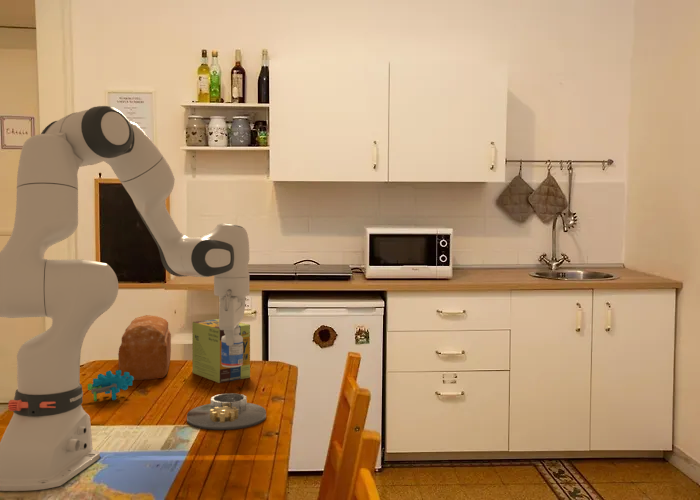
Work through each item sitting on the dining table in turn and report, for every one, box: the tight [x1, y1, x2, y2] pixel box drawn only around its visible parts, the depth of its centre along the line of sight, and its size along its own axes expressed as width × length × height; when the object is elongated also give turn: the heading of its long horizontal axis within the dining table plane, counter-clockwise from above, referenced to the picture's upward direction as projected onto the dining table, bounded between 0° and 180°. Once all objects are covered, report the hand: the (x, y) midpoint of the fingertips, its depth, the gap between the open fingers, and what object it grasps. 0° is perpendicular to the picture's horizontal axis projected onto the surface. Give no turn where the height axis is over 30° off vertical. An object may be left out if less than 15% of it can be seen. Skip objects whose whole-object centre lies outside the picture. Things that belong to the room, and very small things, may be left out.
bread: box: [117, 314, 172, 381], centre depth 205 cm, size 14×26×16 cm, turn 12°
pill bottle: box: [221, 326, 243, 367], centre depth 173 cm, size 6×5×10 cm
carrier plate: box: [186, 392, 267, 431], centre depth 159 cm, size 18×18×4 cm
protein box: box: [191, 318, 251, 384], centre depth 199 cm, size 10×15×16 cm
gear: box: [87, 369, 135, 402], centre depth 173 cm, size 11×6×10 cm
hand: (232, 342), depth 173 cm, fingers closed on pill bottle, 5 cm apart
